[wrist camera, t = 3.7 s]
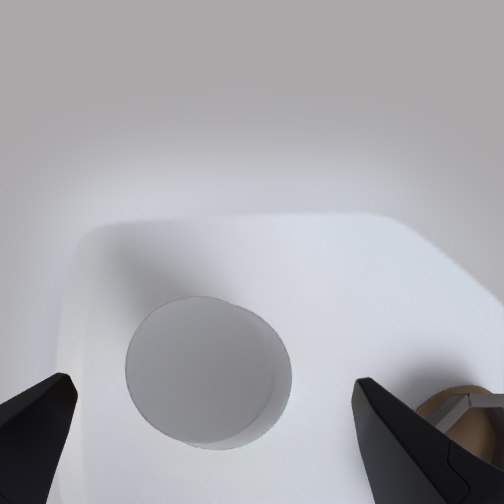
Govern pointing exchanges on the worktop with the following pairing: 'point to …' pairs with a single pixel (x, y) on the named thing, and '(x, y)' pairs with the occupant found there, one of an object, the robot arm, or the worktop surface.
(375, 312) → the worktop surface
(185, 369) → the supplement bottle
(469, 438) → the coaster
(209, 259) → the worktop surface
